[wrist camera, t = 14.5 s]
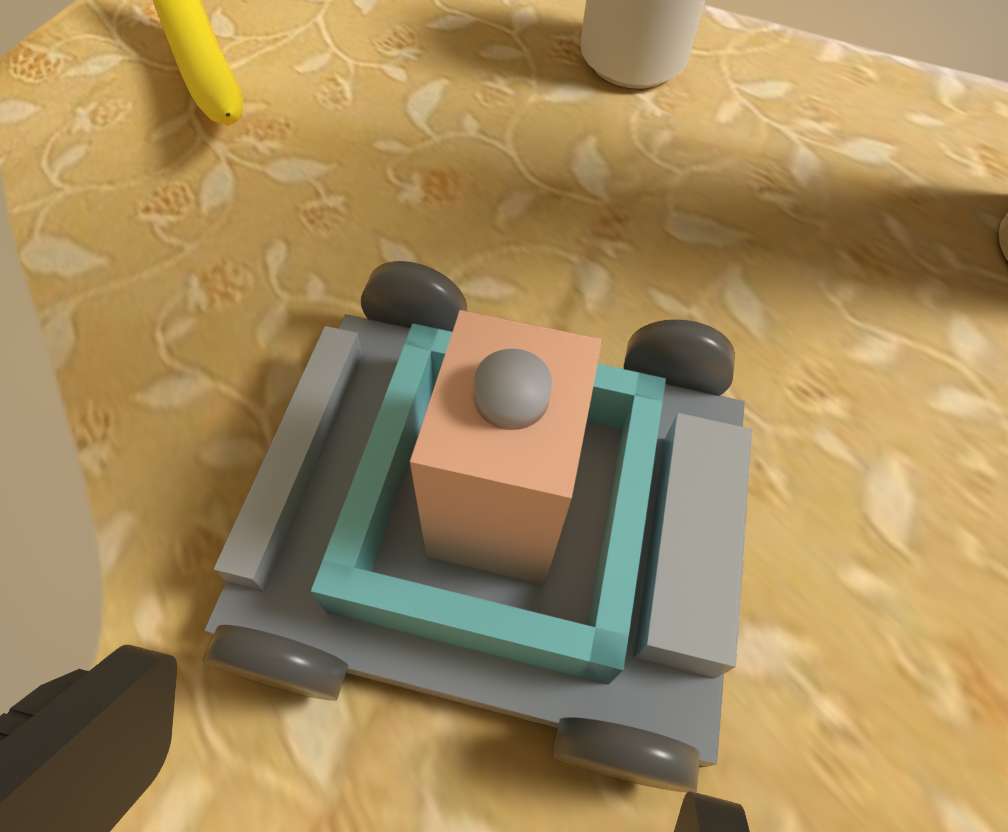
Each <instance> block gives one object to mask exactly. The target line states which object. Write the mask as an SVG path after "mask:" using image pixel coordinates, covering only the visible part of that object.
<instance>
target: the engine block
mask: <svg viewBox="0 0 1008 832" xmlns="http://www.w3.org/2000/svg"><path fill="white" fill-rule="evenodd" d="M601 344H602V339H598V338H593V337H589V336H584V335H579V334H574V333H569V332H564V331H559V330H555V329H550V328H545V327H540V326H535V325H530V324H525V323H521V322H516V321H511V320H506V319H501V318H496V317H492V316H487V315H482V314H477V313H472V312H467V311H462V310H460V311H459V314H458V317H457V320H456V323H455V326H454V329H453V332H452V335H451V338H450V341H449V344H448V348H447V351H446V354H445V357H444V360H443V363H442V366H441V369H440V372H439V375H438V378H437V381H436V384H435V387H434V390H433V393H432V396H431V399H430V402H429V405H428V408H427V411H426V415H425V418H424V421H423V424H422V427H421V430H420V433H419V436H418V439H417V442H416V445H415V448H414V451H413V454H412V457H411V460H410V465H411V471H412V476H413V482H414V488H415V494H416V499H417V505H418V511H419V516H420V522H421V528H422V534H423V539H424V545H425V551H426V557H428V558H433V559H437V560H441V561H445V562H450V563H454V564H458V565H462V566H467V567H471V568H475V569H479V570H484V571H488V572H492V573H496V574H501V575H505V576H509V577H514V578H518V579H522V580H526V581H531V582H535V583H539V584H543V585H545V582H546V579H547V576H548V572H549V569H550V566H551V563H552V560H553V556H554V553H555V550H556V547H557V544H558V540H559V537H560V534H561V531H562V528H563V524H564V521H565V518H566V515H567V512H568V508H569V505H570V502H571V499H572V494H573V489H574V484H575V479H576V473H577V468H578V463H579V458H580V453H581V447H582V442H583V437H584V432H585V427H586V422H587V416H588V411H589V406H590V401H591V396H592V391H593V385H594V380H595V375H596V370H597V365H598V360H599V354H600V349H601Z"/></svg>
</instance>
